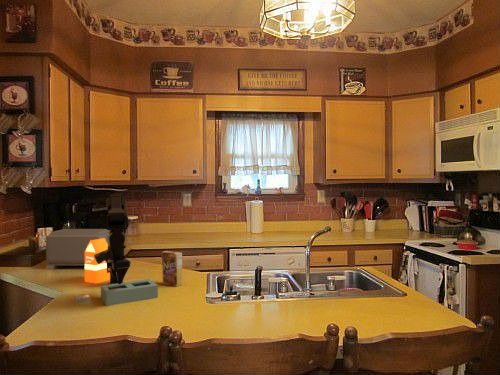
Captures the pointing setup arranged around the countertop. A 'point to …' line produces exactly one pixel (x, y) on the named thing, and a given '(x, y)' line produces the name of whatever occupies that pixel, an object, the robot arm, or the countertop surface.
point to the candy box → (172, 268)
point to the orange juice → (92, 268)
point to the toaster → (70, 246)
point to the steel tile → (82, 298)
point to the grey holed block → (129, 292)
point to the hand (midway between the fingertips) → (117, 281)
